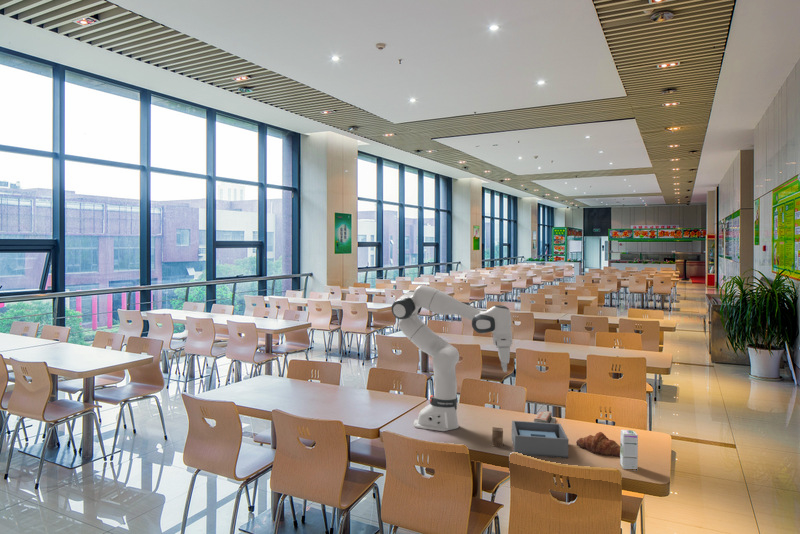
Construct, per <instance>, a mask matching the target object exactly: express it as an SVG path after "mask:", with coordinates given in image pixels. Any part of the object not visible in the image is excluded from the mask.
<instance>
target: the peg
mask: <svg viewBox="0 0 800 534" xmlns="http://www.w3.org/2000/svg"><path fill="white" fill-rule="evenodd" d="M491 434H492V435H491V445H494V446H493V447H501V446H503V445H504V443H503V441H504V429H503V427H494V426H493V427H492V433H491Z"/></svg>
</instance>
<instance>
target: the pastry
mask: <svg viewBox="0 0 800 534" xmlns="http://www.w3.org/2000/svg"><path fill="white" fill-rule="evenodd" d="M576 446H578V447H580V448H581V449H583V450H587V451H588V452H591V453H592V454H595V453H596V455H601V454H602V455H601V456H612V455H613V457H619V456H620V445H619V444H618V443H617V442H616V441H615V440H613V439H609V438H608V437H607V435H606V434H605V433H603V432H601V431H598V432H597V433H596V434H595V435H592V434H589V435H588V436H585V437H580V438H579V439H577V440H576Z"/></svg>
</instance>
